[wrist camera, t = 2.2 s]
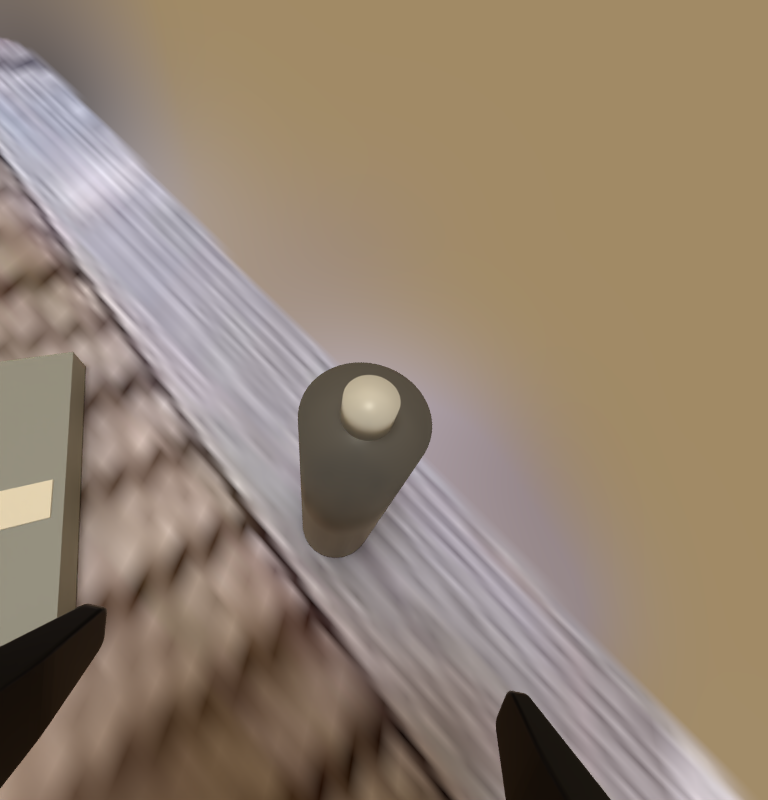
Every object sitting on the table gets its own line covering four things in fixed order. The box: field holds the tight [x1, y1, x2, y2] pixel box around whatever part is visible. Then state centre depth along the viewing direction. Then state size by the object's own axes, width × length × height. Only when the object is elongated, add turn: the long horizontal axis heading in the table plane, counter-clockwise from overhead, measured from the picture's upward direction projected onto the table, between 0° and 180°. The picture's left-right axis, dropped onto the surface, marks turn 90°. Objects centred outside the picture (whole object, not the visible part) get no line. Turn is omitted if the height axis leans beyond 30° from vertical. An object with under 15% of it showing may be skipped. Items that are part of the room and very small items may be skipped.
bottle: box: [298, 363, 432, 558], centre depth 16 cm, size 4×4×14 cm
